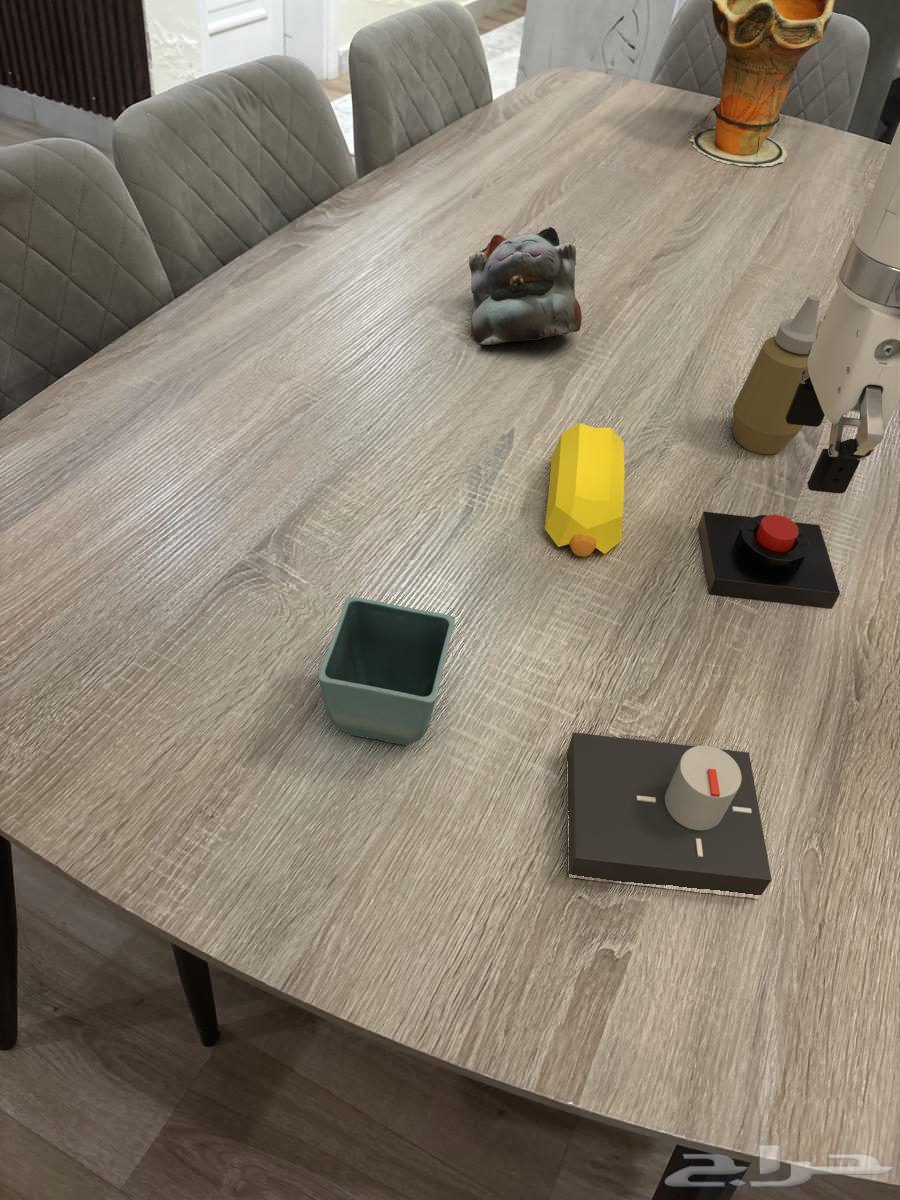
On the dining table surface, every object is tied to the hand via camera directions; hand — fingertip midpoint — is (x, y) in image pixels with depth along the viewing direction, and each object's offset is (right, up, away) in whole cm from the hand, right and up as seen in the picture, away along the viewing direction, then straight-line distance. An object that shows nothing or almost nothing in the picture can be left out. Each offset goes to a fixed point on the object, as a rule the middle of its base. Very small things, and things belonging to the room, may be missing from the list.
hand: (813, 455), depth 83 cm
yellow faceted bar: (-18, -3, +15) cm, 24 cm away
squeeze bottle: (+4, +6, +26) cm, 27 cm away
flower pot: (-38, -23, -6) cm, 44 cm away
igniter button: (-1, -7, +8) cm, 11 cm away
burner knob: (-14, -28, -13) cm, 34 cm away
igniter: (-1, -10, +11) cm, 14 cm away
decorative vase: (+21, +71, +92) cm, 118 cm away
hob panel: (-16, -30, -11) cm, 36 cm away
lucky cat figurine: (-24, +22, +39) cm, 50 cm away
